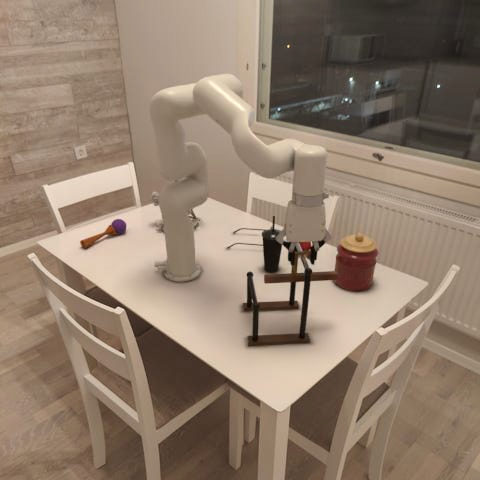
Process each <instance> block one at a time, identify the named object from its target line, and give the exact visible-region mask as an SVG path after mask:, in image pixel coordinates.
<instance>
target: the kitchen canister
mask: <svg viewBox="0 0 480 480" xmlns="http://www.w3.org/2000/svg"><path fill="white" fill-rule="evenodd" d="M336 252H337V254H336V255H335V264H334V265H335V266H334V270H333V271H337V273H338V276H337V280H333V282H334V283H335V284H336V285H337V286H338V287H340V288H342V289H344V290H347V291H352V292H359V291H365V290H368V289H369V288H370V287H371V286H372V284H373V282H374V276H375V275H374V274H375V269H376V265H377V259H376V258H377V257H378V255H379V250H378V245H377V242H376V241H374V240H373V239H372V238H371V237H369V236H367V235H364V234H363V233H361V232H359V233H356V234H350V235H347V236H345V237H343V238H341V240H340V243H339V244H338V245H337V246H336Z"/></svg>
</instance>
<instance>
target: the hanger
mask: <svg viewBox="0 0 480 480" xmlns="http://www.w3.org/2000/svg"><path fill="white" fill-rule="evenodd" d="M297 255H298V256H299V255H304V256H306V260H309V259H311V251H310V250H309V251H296V252H295V262H294V265H293V273H291V272H290V273H288V272H287V273H269V274H263V282H264V284H266V285H267V284H284V283H291V282H296V283H302V282H303V283H304V279H305V273H304V272H297V273H296V270H297V271H298V266H297ZM337 276H338V273H337V271H334V270H332V271H331V270H329V271H328V270H327V271H312V274H311V282H323V281H325V282H326V281H327V282H328V281H334V280H337Z"/></svg>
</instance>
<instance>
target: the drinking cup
mask: <svg viewBox="0 0 480 480" xmlns="http://www.w3.org/2000/svg"><path fill="white" fill-rule="evenodd" d="M275 223H276V216H275V215H273V216H272V226H271V227H272V229H271V228H269V229H264V230H265V231H263V230H262V232H261V237H262V245H263V246H262V251H263V253H262V254H263V268H264V271H265V272H266V273H269V274H274V273H277V272H279V266H280V261H281V255H282V248H283V245H282V244H280V243H279V242H277V240H276V237H277V235H278V234H279V233H280V232H281V231H282V230H281V229H276V228H275V226H276V224H275Z"/></svg>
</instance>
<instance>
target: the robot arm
mask: <svg viewBox="0 0 480 480" xmlns="http://www.w3.org/2000/svg"><path fill="white" fill-rule="evenodd" d="M243 98H244V87H243V84H242V83H241V81H240V80H239V78H238V77H237V76H235V75H233V74H231V73H220V74H215V75H214V74H213V75H208V76H205V77H203V78H201V79H199V80H198V81H197V82H193V83H187V84H182V85H181V84H180V85H175V86H169V87H166V88H164V89H161V90H159V91H157V92H156V93H155V94H154V95H152V97H151V100H150V102H149V117H150V121H151V124H152V127H153V131H154V136H155V145H156V153H157V161H158V168H159V171H160V172H159V173H160V175H161V177H162V178H163V179H164V180H166V181H169V182H170V181H171V182H173V181H174V182H173V183H170V184H168V185H166V186H164V187H162V188H163V189H162V190H161V191H160V193H159V192H158V193H159V195H158V204H159V205H158V207H159V209H160V213H161V219H162V218H163V219H162V221H163V224H164V231H163V232H164V240H165V250H166V260H164V261H154V268H157V271H163V275H164V277H165V278H166V279H167V280H170V281H173V282H178V283H179V282H183V283H184V282H189V281H192V280H195V279H196V278H198V277H199V276H200V275H201V271H202V269H201V266H200V265H199V264H198V263H197V262H196V261H197V260H196V245H195V244H196V243H195V242H196V241H195V230H194V228H195V226H194V227H193V222H192V218H190V217H189V216H190V215H188V214H187V212H188V211H189V210H190V211H191V209H195V208H197V207H200V206H202V205H203V204H205V203H206V202H207V200H208V199H209V195H210V182H209V165H208V158H207V155H206V152H205V149H204V148H203V147H202V146H201V145H200V144H199V143H197V142H194V141H188V142H186V134H185V131H184V128H183V126H182V124H181V122H180V121H182V120H185V119H191V118H194V117H199V116H203V115H207V116H208V117H209V118H210V119H211V120H212V121H214V122H215V123H216V124H217V125H218V126H219V127H221V128H222V129H223V130H224V131H225V132H227V133H228V134H229V136H230V137H231V143H232V146H233V148H234V151H235V153H236V155H237V157H238V158H239V159H240V160H241V161H242V162H243V164H244V165H246V166H247V167H248V168H249V169H250V170H252V172H254V173H255V174H257V175H258V176H260V177H262V178H265V179H274V178H277V177H279V176H282V175H284V174H286V173H289V172H293V173H292V191H291V192H292V193H291V200H289V201H287V206H286V210H285V215H284V223H283V224H284V225H283V228H282V230H280V231H281V232H280V233H279V234H278V235H277V237H276V240H277V242H279V243H280V244H282V247H284V249H286V250H287V261H288V262H290V266H291V267H292V266H293V265H294V262H295V251H294V247H295V245H296V242H311V247H310V250H309V251H311V259H308V260H309V262H310V264H311V266H314V265H315V263H316V261H317V260H318V252H319V251H320V249H321V248H322V247H323V246H324V245H325V244H326V243H328V242H329V241H331V240H333V236H332V235H331V233H330V232H329V231H328V229H327V227H326V226H327V225H326V220H327V219H326V215H327V214H326V203H325V201H324V200H326V199H329V197H330V193H329V192H326V191H324V190H325V181H326V171H327V163H328V152H327V150H326V148H325V147H323V146H320V145H316V144H307V143H305V142H302V141H300V140H298V139H295V138H284V139H281V140H279V141H275V142H273V143H270V144H266V143H265V142H264V141H262V140H261V139H260V138H258V137H257V136H256V135H255V134H254V132H253V131H252V130H251V126H252V124H253V122H254V119H255V110H254V108H253V107H252V106H251V105H250V104H249V103H248V102H247V101H245V100H244V99H243ZM181 178H185V179H183V180H181V181H178V182H175V180H178V179H181ZM284 238H285V239H284Z"/></svg>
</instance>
